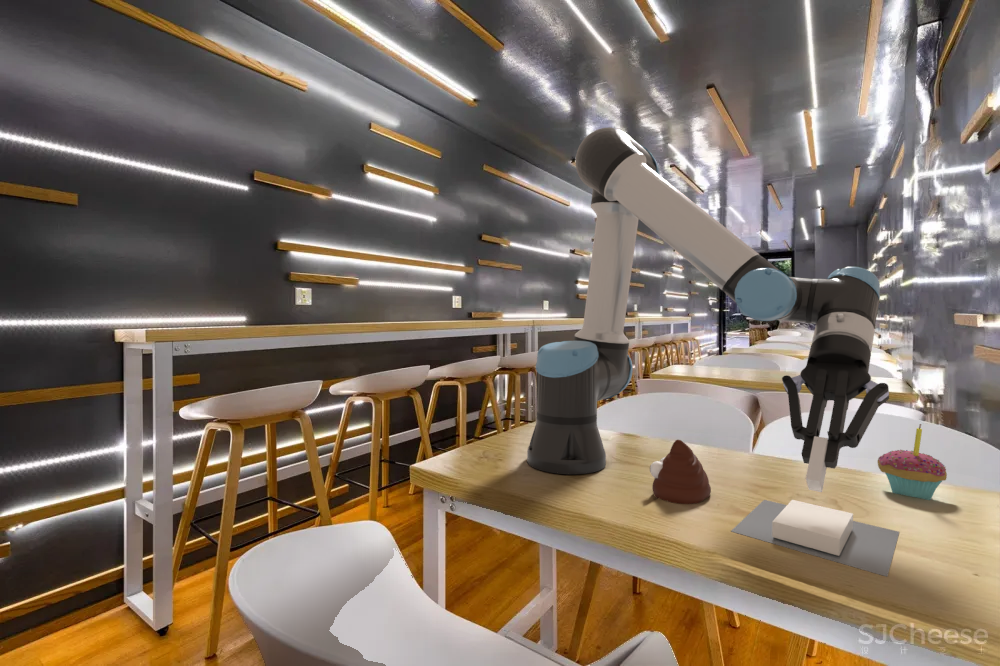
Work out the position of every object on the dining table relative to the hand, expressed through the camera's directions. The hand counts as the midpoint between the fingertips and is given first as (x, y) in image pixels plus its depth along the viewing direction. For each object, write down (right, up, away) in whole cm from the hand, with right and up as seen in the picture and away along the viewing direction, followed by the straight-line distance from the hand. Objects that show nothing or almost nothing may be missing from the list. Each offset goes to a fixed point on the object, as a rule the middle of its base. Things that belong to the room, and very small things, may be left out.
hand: (813, 485), depth 62 cm
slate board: (+1, -7, +1) cm, 7 cm away
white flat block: (+4, -5, +4) cm, 8 cm away
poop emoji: (-11, -7, +15) cm, 20 cm away
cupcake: (+26, -7, +16) cm, 31 cm away
